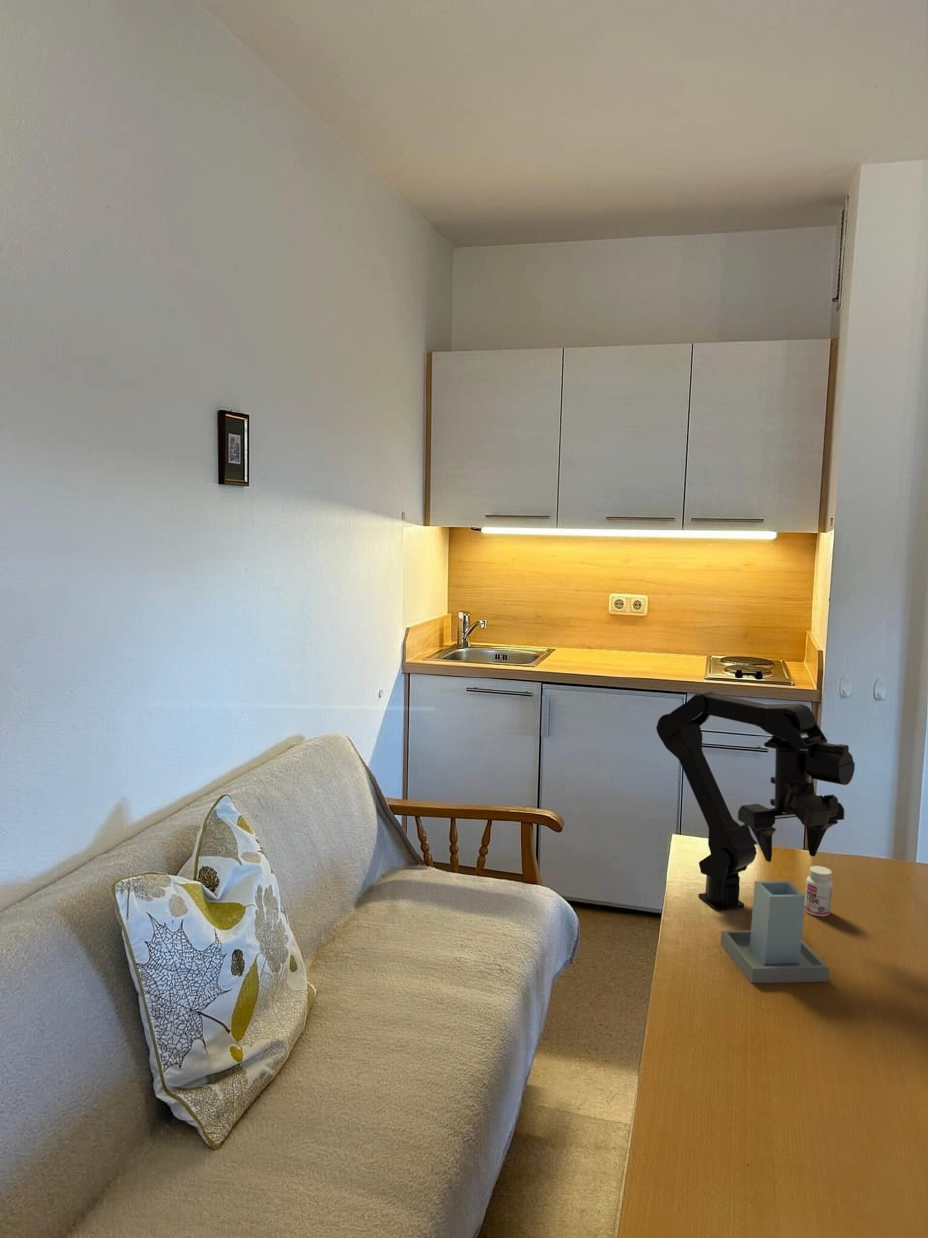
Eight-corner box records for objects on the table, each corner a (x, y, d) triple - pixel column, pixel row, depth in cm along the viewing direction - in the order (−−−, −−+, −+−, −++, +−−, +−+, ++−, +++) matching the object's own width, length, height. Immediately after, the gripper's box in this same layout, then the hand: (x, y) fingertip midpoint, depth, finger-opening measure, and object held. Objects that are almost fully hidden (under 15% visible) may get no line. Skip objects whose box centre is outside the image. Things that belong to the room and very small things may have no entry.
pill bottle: (801, 913, 172) (805, 871, 171) (805, 904, 177) (808, 863, 176) (828, 919, 170) (832, 877, 169) (831, 910, 174) (835, 868, 173)
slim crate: (749, 950, 155) (754, 881, 154) (782, 950, 156) (788, 881, 154) (764, 968, 149) (770, 896, 148) (798, 967, 150) (805, 896, 149)
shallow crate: (720, 944, 159) (721, 930, 159) (790, 943, 160) (792, 929, 160) (751, 983, 146) (752, 968, 146) (827, 981, 148) (829, 967, 147)
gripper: (773, 790, 153) (772, 880, 154) (866, 781, 158) (864, 868, 159) (736, 774, 164) (735, 858, 165) (824, 766, 169) (823, 848, 170)
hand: (790, 858), depth 164 cm, fingers open, 9 cm apart
